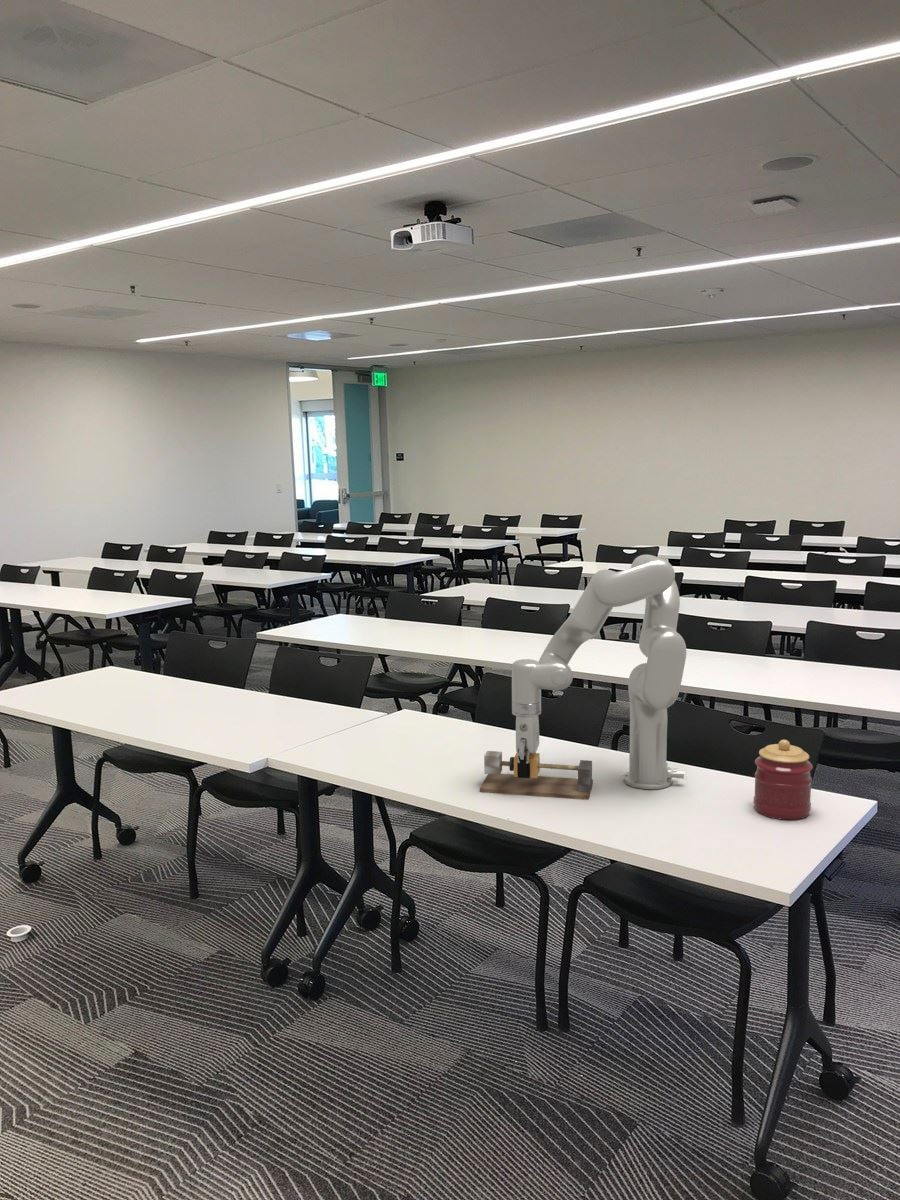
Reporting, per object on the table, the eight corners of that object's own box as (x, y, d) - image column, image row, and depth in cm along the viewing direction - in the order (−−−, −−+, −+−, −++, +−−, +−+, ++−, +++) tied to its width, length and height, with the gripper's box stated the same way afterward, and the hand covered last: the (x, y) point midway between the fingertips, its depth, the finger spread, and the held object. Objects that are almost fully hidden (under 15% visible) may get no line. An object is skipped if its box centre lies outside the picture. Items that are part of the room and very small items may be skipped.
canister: (806, 824, 209) (809, 751, 206) (748, 815, 215) (750, 743, 212) (814, 806, 220) (817, 736, 217) (758, 797, 226) (761, 729, 223)
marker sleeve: (539, 771, 237) (539, 753, 236) (536, 778, 232) (536, 759, 232) (517, 770, 239) (516, 751, 238) (513, 776, 234) (513, 758, 233)
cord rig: (592, 783, 238) (593, 752, 237) (588, 799, 226) (588, 767, 225) (488, 776, 245) (488, 746, 243) (479, 791, 233) (479, 760, 232)
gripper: (536, 717, 224) (536, 783, 226) (545, 699, 240) (545, 761, 243) (506, 716, 225) (506, 781, 228) (517, 698, 242) (518, 759, 245)
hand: (526, 771), depth 235 cm, fingers open, 9 cm apart
